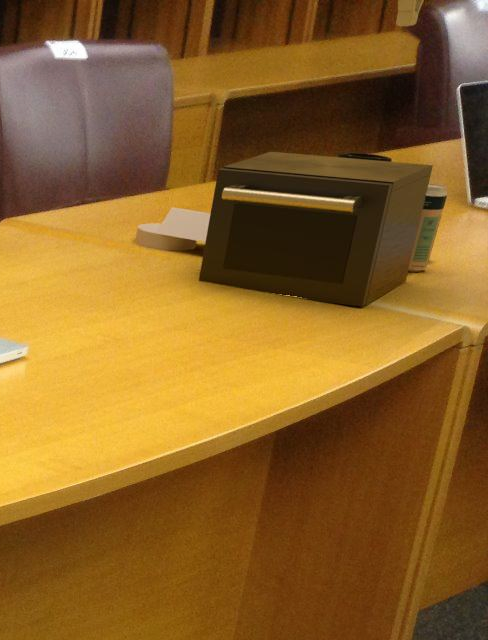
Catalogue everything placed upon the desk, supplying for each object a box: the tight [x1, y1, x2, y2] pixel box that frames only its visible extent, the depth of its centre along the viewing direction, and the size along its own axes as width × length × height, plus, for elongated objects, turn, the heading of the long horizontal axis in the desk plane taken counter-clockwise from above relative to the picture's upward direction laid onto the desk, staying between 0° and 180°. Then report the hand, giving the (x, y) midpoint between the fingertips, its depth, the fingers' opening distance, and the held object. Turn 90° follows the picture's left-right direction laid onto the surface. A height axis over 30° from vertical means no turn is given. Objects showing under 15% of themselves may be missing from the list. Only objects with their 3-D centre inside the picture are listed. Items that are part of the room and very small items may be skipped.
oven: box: [222, 151, 434, 307], centre depth 215 cm, size 20×22×16 cm
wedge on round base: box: [134, 206, 211, 251], centre depth 236 cm, size 9×7×13 cm
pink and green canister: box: [408, 183, 448, 273], centre depth 223 cm, size 5×5×12 cm
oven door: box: [198, 167, 393, 308], centre depth 206 cm, size 6×22×16 cm, turn 50°
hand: (405, 25), depth 200 cm, fingers closed
